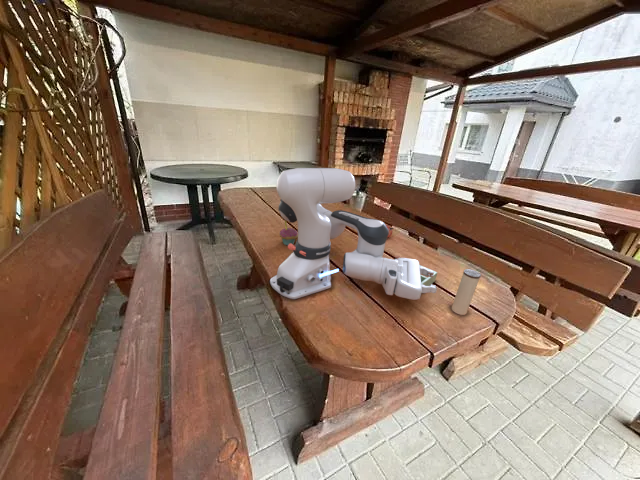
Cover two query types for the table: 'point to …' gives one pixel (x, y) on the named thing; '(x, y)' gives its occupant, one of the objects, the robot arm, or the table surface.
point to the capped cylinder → (465, 291)
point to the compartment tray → (427, 278)
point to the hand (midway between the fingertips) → (434, 281)
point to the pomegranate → (389, 230)
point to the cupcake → (288, 235)
